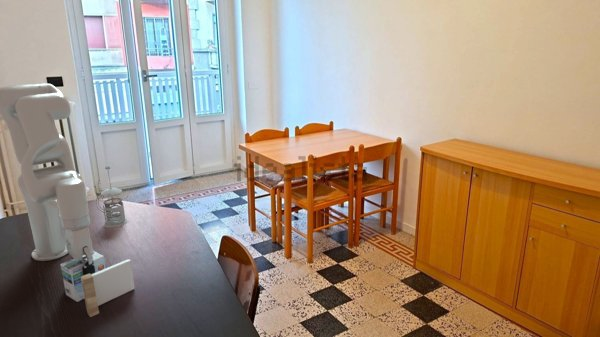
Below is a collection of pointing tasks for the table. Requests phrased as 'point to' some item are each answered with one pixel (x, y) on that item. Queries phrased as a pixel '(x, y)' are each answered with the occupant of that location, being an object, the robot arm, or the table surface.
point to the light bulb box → (78, 275)
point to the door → (113, 281)
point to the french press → (116, 218)
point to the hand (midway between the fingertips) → (84, 270)
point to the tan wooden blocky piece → (90, 295)
